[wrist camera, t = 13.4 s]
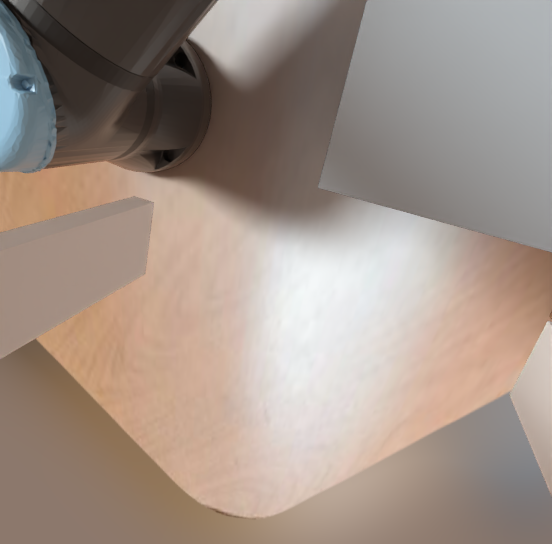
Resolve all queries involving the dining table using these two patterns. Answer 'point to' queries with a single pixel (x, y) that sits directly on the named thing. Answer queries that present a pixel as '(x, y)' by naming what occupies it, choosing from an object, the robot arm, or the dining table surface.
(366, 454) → the dining table surface
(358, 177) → the cabinet
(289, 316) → the dining table surface
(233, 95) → the dining table surface
